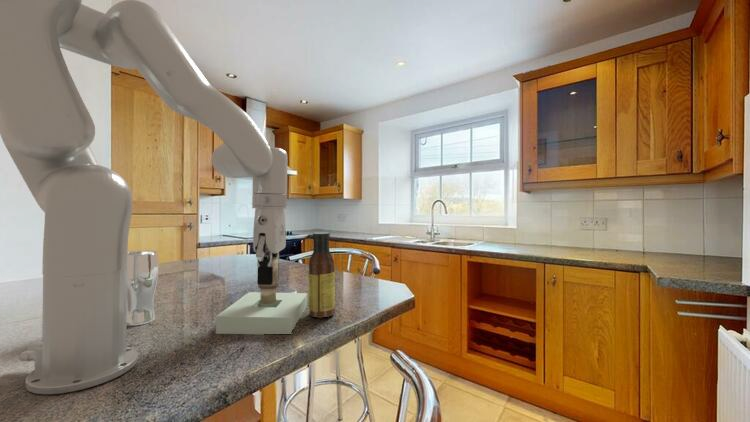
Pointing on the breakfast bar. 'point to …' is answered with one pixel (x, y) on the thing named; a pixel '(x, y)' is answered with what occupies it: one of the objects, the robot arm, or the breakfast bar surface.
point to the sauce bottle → (321, 278)
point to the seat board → (262, 314)
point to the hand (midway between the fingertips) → (268, 280)
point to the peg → (270, 286)
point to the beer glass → (141, 286)
